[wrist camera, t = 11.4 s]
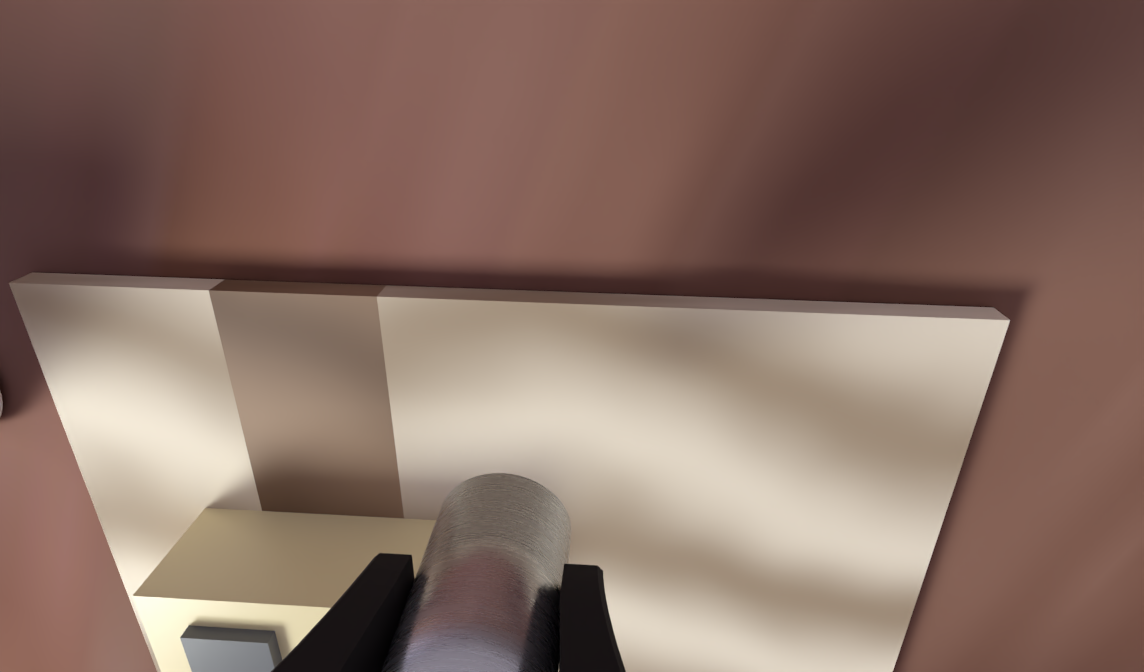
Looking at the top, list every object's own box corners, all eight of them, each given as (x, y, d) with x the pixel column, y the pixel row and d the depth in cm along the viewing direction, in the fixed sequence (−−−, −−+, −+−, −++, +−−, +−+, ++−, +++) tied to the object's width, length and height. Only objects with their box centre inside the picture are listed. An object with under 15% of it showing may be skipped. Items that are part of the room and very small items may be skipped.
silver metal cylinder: (571, 581, 14) (541, 914, 9) (444, 574, 15) (340, 898, 9) (572, 476, 13) (539, 788, 8) (433, 469, 13) (308, 772, 8)
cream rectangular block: (466, 635, 23) (439, 749, 19) (238, 620, 23) (170, 730, 20) (457, 521, 20) (424, 626, 17) (205, 507, 21) (121, 608, 17)
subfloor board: (854, 744, 25) (861, 765, 24) (187, 699, 26) (175, 718, 26) (993, 307, 17) (1010, 319, 17) (32, 272, 18) (8, 282, 18)
